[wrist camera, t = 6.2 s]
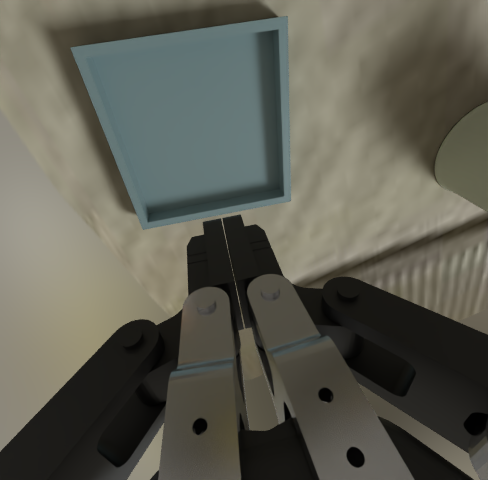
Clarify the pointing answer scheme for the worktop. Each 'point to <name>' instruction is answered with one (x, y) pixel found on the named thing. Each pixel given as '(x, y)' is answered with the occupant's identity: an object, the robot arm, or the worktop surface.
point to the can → (466, 158)
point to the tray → (196, 117)
